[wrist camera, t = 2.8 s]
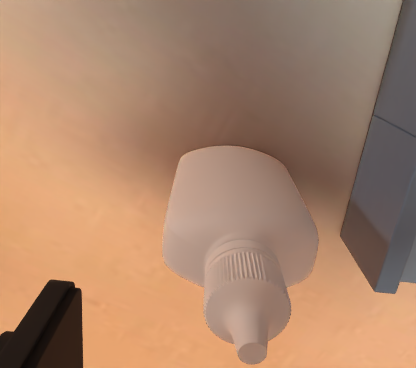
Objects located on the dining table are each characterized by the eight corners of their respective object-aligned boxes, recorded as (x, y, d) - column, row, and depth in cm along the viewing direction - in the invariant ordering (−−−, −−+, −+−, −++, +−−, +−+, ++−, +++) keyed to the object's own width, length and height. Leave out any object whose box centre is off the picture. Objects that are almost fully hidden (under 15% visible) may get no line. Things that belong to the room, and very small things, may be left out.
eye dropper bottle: (248, 231, 22) (287, 447, 10) (164, 179, 20) (106, 359, 9) (297, 171, 20) (402, 347, 9) (210, 111, 19) (206, 229, 8)
